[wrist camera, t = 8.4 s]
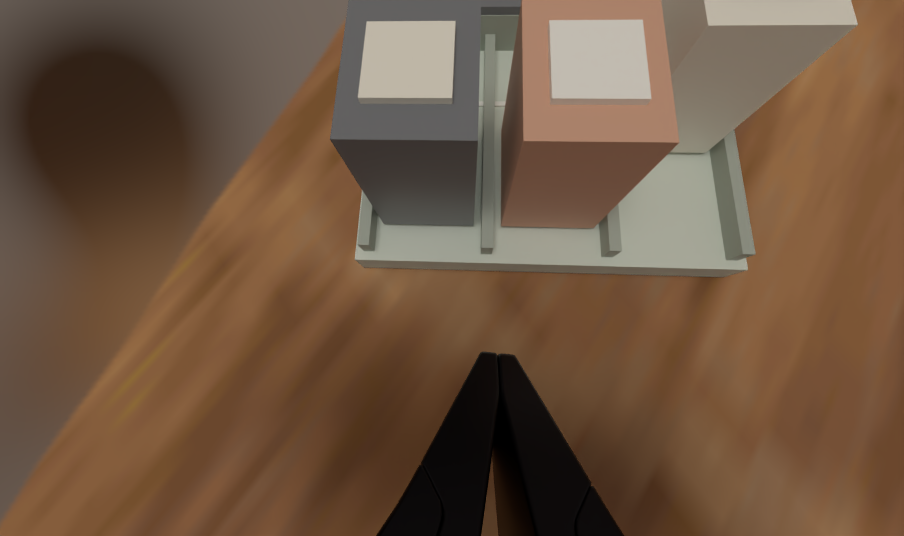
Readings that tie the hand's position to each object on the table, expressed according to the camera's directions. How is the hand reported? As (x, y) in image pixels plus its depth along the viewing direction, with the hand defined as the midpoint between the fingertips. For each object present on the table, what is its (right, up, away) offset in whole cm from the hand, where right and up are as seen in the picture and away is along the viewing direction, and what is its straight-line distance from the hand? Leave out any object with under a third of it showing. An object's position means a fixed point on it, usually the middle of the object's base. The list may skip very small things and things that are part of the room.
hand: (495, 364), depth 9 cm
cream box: (+11, +12, +12) cm, 20 cm away
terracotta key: (+4, +8, +11) cm, 14 cm away
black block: (-2, +8, +11) cm, 14 cm away
